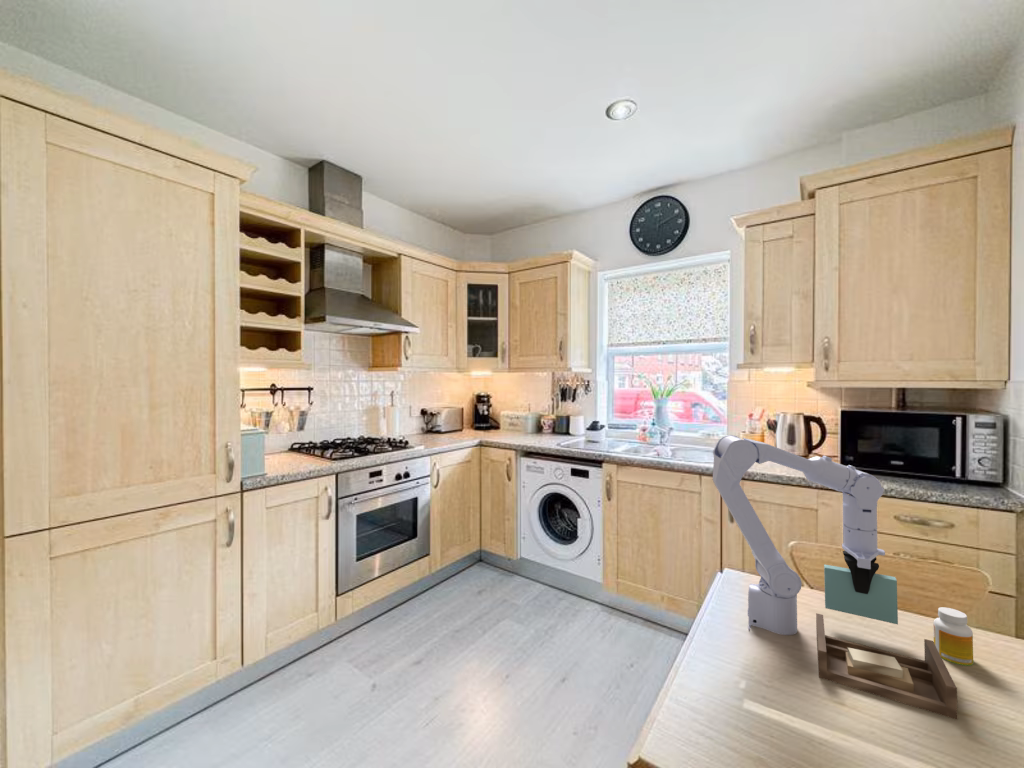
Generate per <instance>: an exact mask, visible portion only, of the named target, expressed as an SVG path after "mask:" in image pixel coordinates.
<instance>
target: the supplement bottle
mask: <svg viewBox="0 0 1024 768" xmlns="http://www.w3.org/2000/svg"><path fill="white" fill-rule="evenodd" d="M937 616H938V617H936V618H935V619H934V620H933V642H934V644H935V646H936V648H937V650H938V652H939V654H940V656H941V658H942V660H943V661H944V660H945V661H947V662H949V663H953V664H956V665H958V666H966V667H967V666H969V667H970V666H973V665H974V641H973V640H974V636H973V634H974V633H973V630H972V628H971V627H970V626H969V625H967V624H968V616H967V614H966V613H965V612H963V611H960V610H958V609H955V608H952V607H951V608H950V607H945V606H944V607H943V606H942V607H941V606H940V607H938V609H937Z"/></svg>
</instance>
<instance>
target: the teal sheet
mask: <svg viewBox="0 0 1024 768" xmlns="http://www.w3.org/2000/svg"><path fill="white" fill-rule="evenodd" d="M823 570H824V571H823V573H824V574H823V575H824V606H825V607H824V608H825V609H827V610H832V611H837V612H841V613H845V614H850V615H854V616H858V617H862V618H866V619H867V618H868V619H872V620H876V621H880V622H886V623H890V624H893V625H899V620H898V618H899V615H898V614H899V613H898V608H899V607H898V580H897V578H896V577H895V576H891V575H885V574H880V573H876V572H875V574H874V576H873V578H872V581H871V585H870V589H869V592H868V594H863V593H858V592H855V589H854V585H853V581H852V575H851V572H850V569H849V567H841V566H836V565H829V564H823Z"/></svg>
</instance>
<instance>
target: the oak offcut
mask: <svg viewBox="0 0 1024 768" xmlns="http://www.w3.org/2000/svg"><path fill="white" fill-rule="evenodd" d="M846 664H847V671H848V674H851V675H854V676H858V677H861V678H865V679H868V680H872V681H875V682H878V683H882V684H885V685H889V686H892V687H895V688H899V689H902V690H906V691H909V692H912V693H914V684H913V681H912V679H911V676H910V673H909V671H908V668H905V667H901V666H900V667H901V668H902V670H903V679H902V678H897V677H893V676H888V675H884V674H879V673H875V672H871V671H866V670H862V669H857V668H853V666H852V663H851V661H850V659H849V657H848V652H846Z"/></svg>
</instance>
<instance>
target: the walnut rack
mask: <svg viewBox="0 0 1024 768" xmlns="http://www.w3.org/2000/svg"><path fill="white" fill-rule="evenodd" d="M815 616H816V617H815V619H816V621H815V622H816V623H815V624H816V631H815V632H816V649H817V650H816V651H817V666H818V667H817V669H818V678H819V679H822V680H823V679H824V680H826V681H829V682H832V683H835V684H839V685H842V686H846V687H848V688H853V689H855V690H858V691H862V692H865V693H868V694H871V695H875V696H879V697H881V698H885V699H888V700H892V701H894V702H895V701H896V702H897V703H900V704H904V705H907V706H911V707H915V708H916V709H917V708H918V709H920V710H924V711H927V712H931V713H934V714H938V715H940V716H944V717H947V718H950V719H954V720H956V721H958V687H957V686H956V684H955V682H954V680H953V678H952V676H951V674H950V672H949V670H948V668H947V666H946V663H945V662H944V659H942V658H941V656H940V654H939V652H938V650H937V648H936V646H935V644H934V640H930V639H925V638H924V639H923V640H924V641H923V642H924V643H923V645H924V659H923V660H922V659H919V658H915V657H911V656H907V655H904V654H900V653H895V652H892V651H888V650H884V649H881V648H877V647H873V646H870V645H869V646H868V645H865V644H860V643H858V642H857V643H856V642H854V641H850V640H846V639H842V638H837V637H834V636H830V635H826V632H825V620H824V619H825V618H824V615H823V614H821V613H815ZM848 648H853V649H858V650H863V651H867V652H872V653H877V654H882V655H886V656H891V657H895V659H896V660H897V662H898V664H899V665H900V666H901V667H905V668H908V671H909V673H910V676H911V679H912V681H913V684H914V693H912V692H909V691H906V690H902V689H899V688H895V687H892V686H889V685H885V684H882V683H878V682H875V681H872V680H868V679H865V678H861V677H858V676H854V675H851V674H848V671H847V664H846V652H848Z"/></svg>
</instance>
